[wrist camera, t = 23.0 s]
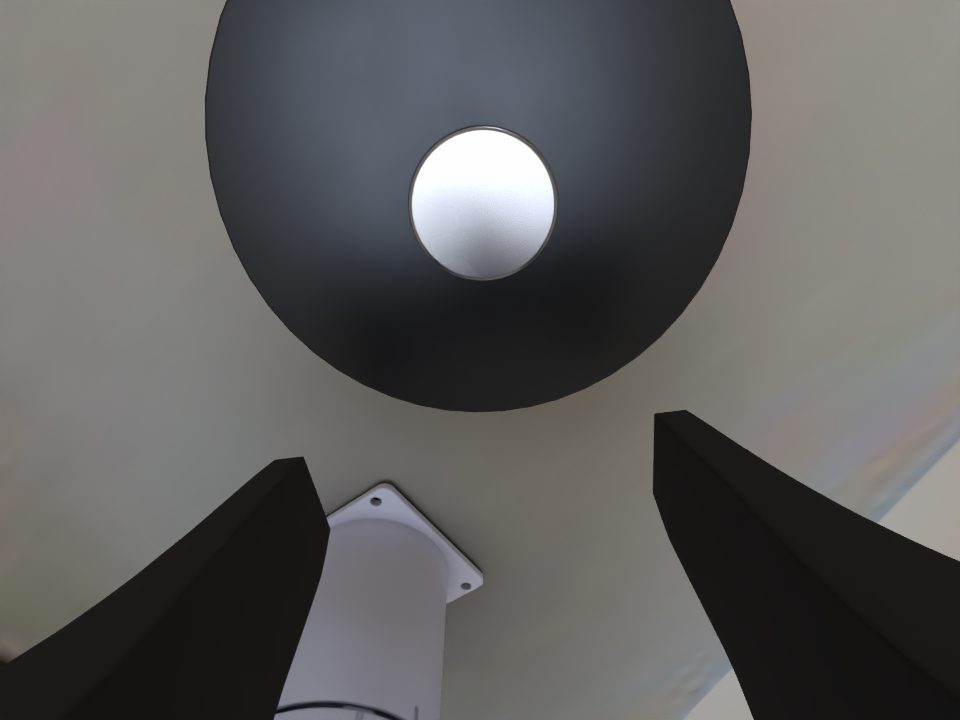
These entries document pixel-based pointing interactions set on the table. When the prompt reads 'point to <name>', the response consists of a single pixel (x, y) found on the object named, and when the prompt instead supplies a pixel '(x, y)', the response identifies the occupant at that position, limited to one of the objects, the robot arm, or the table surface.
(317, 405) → the table surface
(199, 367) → the table surface
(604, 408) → the table surface
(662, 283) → the lid
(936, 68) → the table surface
